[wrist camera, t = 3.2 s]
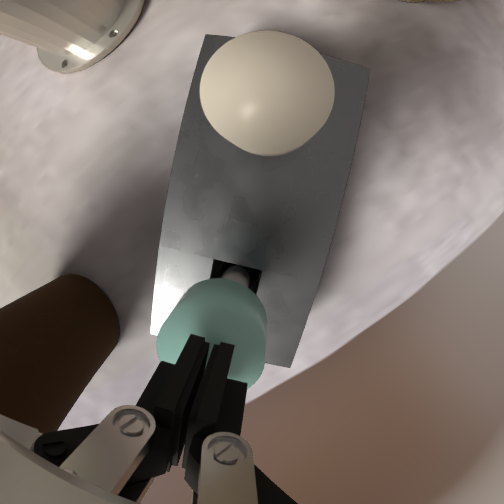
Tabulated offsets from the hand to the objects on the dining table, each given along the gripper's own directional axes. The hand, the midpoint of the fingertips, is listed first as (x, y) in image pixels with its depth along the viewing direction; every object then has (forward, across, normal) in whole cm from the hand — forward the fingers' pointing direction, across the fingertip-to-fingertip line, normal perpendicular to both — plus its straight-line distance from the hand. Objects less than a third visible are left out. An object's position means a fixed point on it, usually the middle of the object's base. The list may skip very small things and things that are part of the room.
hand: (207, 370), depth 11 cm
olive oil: (+14, +15, +10) cm, 23 cm away
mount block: (+14, 0, -5) cm, 15 cm away
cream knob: (+10, 0, -10) cm, 14 cm away
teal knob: (+10, 0, 0) cm, 10 cm away
